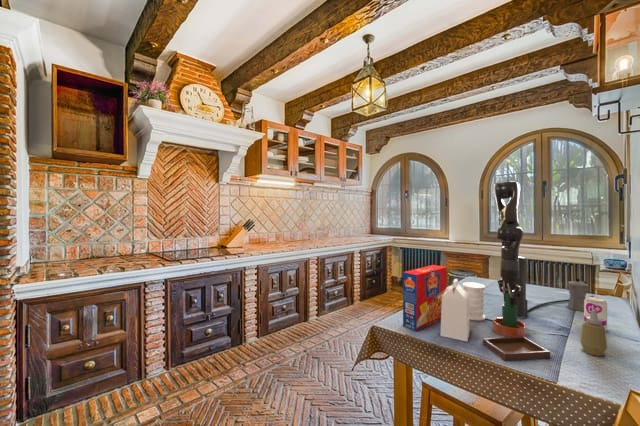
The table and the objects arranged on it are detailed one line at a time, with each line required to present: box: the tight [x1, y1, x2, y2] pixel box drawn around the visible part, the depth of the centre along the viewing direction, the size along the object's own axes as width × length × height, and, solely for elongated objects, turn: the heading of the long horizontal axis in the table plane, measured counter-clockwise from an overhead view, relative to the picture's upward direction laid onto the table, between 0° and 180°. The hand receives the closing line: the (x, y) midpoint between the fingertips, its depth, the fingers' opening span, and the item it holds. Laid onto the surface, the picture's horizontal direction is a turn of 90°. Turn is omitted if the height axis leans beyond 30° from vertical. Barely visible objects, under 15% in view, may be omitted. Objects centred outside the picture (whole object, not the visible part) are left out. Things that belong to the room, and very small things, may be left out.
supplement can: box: [583, 296, 608, 331], centre depth 142 cm, size 8×8×15 cm
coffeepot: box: [567, 278, 589, 312], centre depth 170 cm, size 15×9×18 cm, turn 113°
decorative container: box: [462, 281, 486, 321], centre depth 157 cm, size 12×12×18 cm
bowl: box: [492, 316, 527, 338], centre depth 138 cm, size 13×13×5 cm
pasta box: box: [402, 264, 448, 332], centre depth 152 cm, size 28×8×28 cm, turn 127°
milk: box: [439, 278, 471, 342], centre depth 138 cm, size 12×12×26 cm
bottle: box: [501, 293, 518, 328], centre depth 138 cm, size 6×6×16 cm
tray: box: [482, 336, 551, 361], centre depth 121 cm, size 20×14×3 cm
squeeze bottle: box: [580, 310, 608, 357], centre depth 119 cm, size 8×8×18 cm
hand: (509, 303), depth 138 cm, fingers closed on bottle, 3 cm apart
